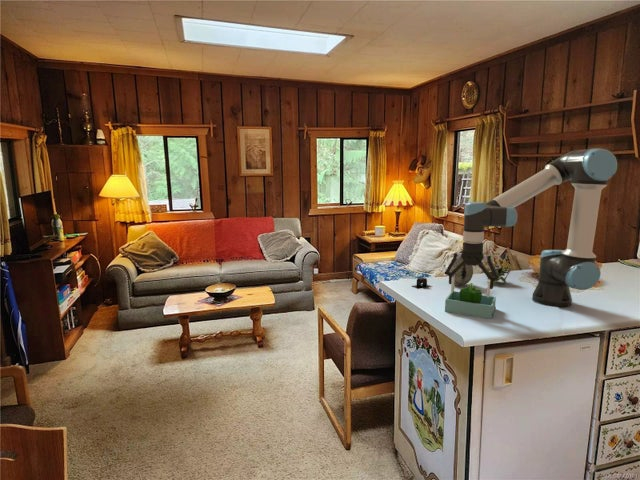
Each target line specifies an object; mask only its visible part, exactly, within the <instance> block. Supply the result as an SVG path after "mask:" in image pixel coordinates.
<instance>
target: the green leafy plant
mask: <svg viewBox="0 0 640 480" xmlns="http://www.w3.org/2000/svg"><path fill="white" fill-rule="evenodd" d="M494 267H495V269H496V271H497V273H498V275H499V279H498V280H495V281H494V284H495V283H498V282H499V281H502V282H503V285H505V284H506V283H507V277H508V276H509V274H510V273H511V269H510V268H507V269H506V267H505V266H504V265H501V266H500V265H497V264H495V265H494ZM488 271H489V272H490V273H491V275H492V276H493V277H494V275H493V273H492V271H491V269H490V270H488ZM505 274H506V276H505ZM504 276H505V277H504ZM486 278H487V280H490V279H489V278H488V277H486Z"/></svg>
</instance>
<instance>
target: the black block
mask: <svg viewBox="0 0 640 480" xmlns="http://www.w3.org/2000/svg"><path fill="white" fill-rule="evenodd" d="M411 287H412V288H415V289H417V290H419V289H420V290H421V289H427V288H432V287H433V286H432V285H429V284H428V279H427V278H425V277H417V279H416V284H415V285H411Z"/></svg>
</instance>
